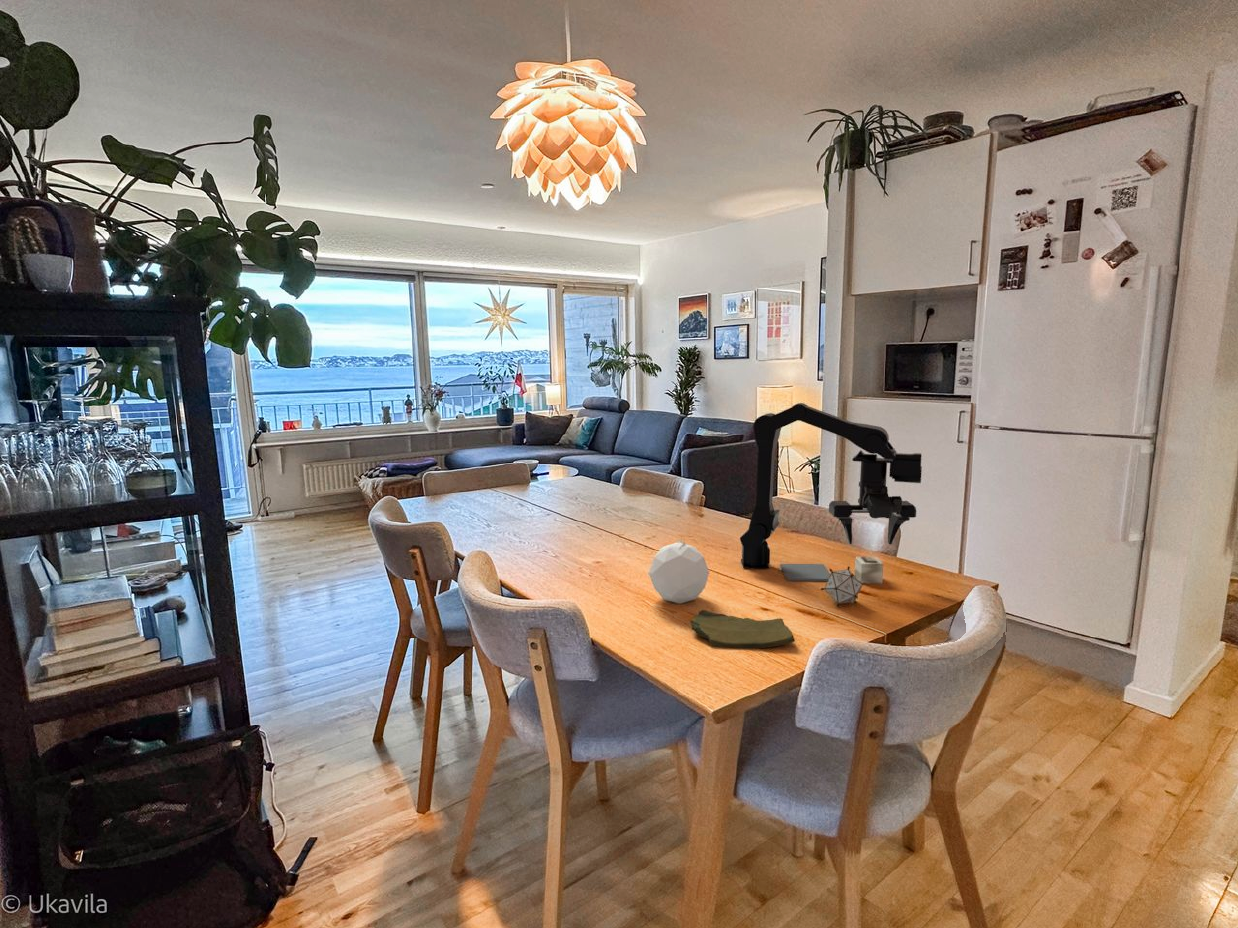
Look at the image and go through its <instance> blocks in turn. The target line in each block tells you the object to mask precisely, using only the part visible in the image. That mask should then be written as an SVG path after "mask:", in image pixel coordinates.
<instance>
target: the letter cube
mask: <svg viewBox="0 0 1238 928" xmlns="http://www.w3.org/2000/svg"><path fill="white" fill-rule="evenodd" d="M854 560H855V562H854V575H855V576H856V577H857V579H858V580H859V581H860V582H861V583H867V584H883V577H884V576H883V575H884V563H883V561H882V560H880V559H879V558H878V557H877V556H855V559H854Z"/></svg>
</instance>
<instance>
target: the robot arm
mask: <svg viewBox="0 0 1238 928" xmlns="http://www.w3.org/2000/svg"><path fill="white" fill-rule="evenodd" d="M797 421H799V422H802V423H805V424H808V425H811V426H813V427H816V428H818V429H821V430H823V431H827V432H829V433H831V434H835V435H837V436H840V437H842V438H845V439H846V440H848V441H850V442H851V443H852V444H853V445H855V446H856V447H858V448H860V450H859V451H858V453H856V455H854V456H853V458H852V462H858V463H860V474H859V477H860V478H859V481H858V487H859V498H857V503H858V504H850V503H849V502H848V501H847V500H831V501H830V502H829V505H828V513H829V514H831V515H832V516H833V517H834V518H836V519H837V520H838V521H840V522H841V524H842V526H843V527H842V528H843V529H844V532H845V535H846V539H847V541H848V543H849V545H852V544H853V529H852V528H853V526H852V525H853V517H852V515H853V514H856V513H857V514H869V517H870V518H872V519H879V518H882V519H883V518H884V519H888V525H887V526H888V527H887V528H888V529H887V543H888V545H892V544H893V542H894V540H895V537H896V534H897V532H898V530H899V529H900V527H901V526H902V524H904V523H905V522H906V521H907V522H909V521H910V519H911V518H916V517H917V507H916V506H915V505H914V504H913V503H911V502H909V501H908V500H903V499H902V497H901V496H900V495H895V496H893V495H892V496H889V492H888V491H889V489H888V486H887V476H889V478H891V479H892V480H894V483H895V482H896V483H913V484H921V482H922V468H923V466H922V453H919V452H917V453H901V452H900V453H899V452H897V450H896V448H894V446H893V445H892V443H890V441H889V440H890V438H889V437H890V436H889V433H888V431H887V430H886V429H885V428H883V427H881V426H876V425H871V424H867V423H861V422H859V423H858V422H853V421H849V420H848V419H847V420H846V419H844V418H842V417H839V416H836V415H833V414H831V413H828V412H825V411H822V410H820V409H817V408H814V407H812V406H809V405H808V404H805V403H804V402H799V403H796V404H794V405H792V406H791V407H789V408H787V409H785V410H783V411H780V412H778V413H773V412H769V413H768V412H767V413H765V414H763V415H761V416H758V417H757V418H756V419H755V420H754V422H753V424H752V425H753V426H752V427H753V435H754V441H755V445H756V449H757V464H756V485H755V487H756V488H755V489H756V490H755V505H754V507H753V510H752V513H751V516H750V521H749V525H748V529H747V530H746V531H745V532H744V533H743V535H742V536H740V538H739V540H740V543H741V558H740V562H741V565H742V568H743V569H760V570H761V569H763V570H764V569H765V570H766V569H769V568H770V567H769V565H770V563H771V562H770V561H771V559H770V558H771V549H770V547H769V545H768V541H767V540H768V539H769V538H770V537H771V536H772V535H773V533H774V532H775V531H776V529H777V527H779V525H780V522H779V516H780V509H775V508H774V503H773V494H774V479H775V477H774V476H775V474H774V473H775V456H776V455H775V454H776V448H777V445H778V443H779V439H780V436H781V432H782V431H781V429H782V428H784V427H786V426H788V425H789V426H790V425H791V424H793V423H795V422H797ZM861 449H862V450H861ZM863 451H865V452H867V453H864V452H863ZM878 455H879V456H880V457H878ZM888 464H889V475H887V472H888V470H887V469H888Z"/></svg>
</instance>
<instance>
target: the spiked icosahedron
mask: <svg viewBox="0 0 1238 928" xmlns="http://www.w3.org/2000/svg"><path fill="white" fill-rule="evenodd" d="M850 568H851V567H850V566H849V565H848V566H847V568H846V569H843V570H835V571H833V569H831V568H830V569H829V573H830V574H831V575H830V577H829V579H828V581H826V584H825V585H824V587H821V588H820V590H821V591H825V592H826V593H827V594H828V595H829V596H830V597H831V598H832V600H834V601H835V602H836V608H839V607H840V604H847V603H852V602H853V603H854V604H855V605H858V601H856V599H859V597H858V595H859V594H860V591H861V589H862V587H863V586H866V585H867V584H868V583H861V582H860V581H859V580H858V579H857V577H856V576H855V573H853V572H852V571H851V570H850Z"/></svg>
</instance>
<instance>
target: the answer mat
mask: <svg viewBox="0 0 1238 928" xmlns="http://www.w3.org/2000/svg"><path fill="white" fill-rule="evenodd" d="M779 567H780V568H781V571H782V572H783V575H784V576H785V578H786V579H785V580H786V581H788V582H827V581H828V579H829V577H830V575H831V572H830V570H828V568H827V567H826V566H825V564H823V563H780V564H779Z"/></svg>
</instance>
